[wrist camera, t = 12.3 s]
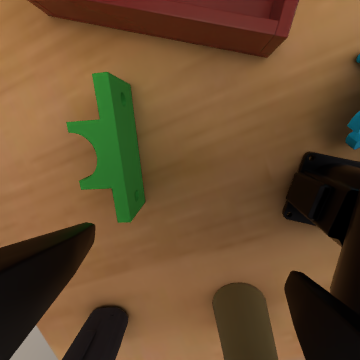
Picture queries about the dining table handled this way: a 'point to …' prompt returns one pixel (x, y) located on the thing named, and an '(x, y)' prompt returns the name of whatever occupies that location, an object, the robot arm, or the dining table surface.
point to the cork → (243, 323)
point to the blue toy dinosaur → (354, 127)
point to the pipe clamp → (114, 146)
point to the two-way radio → (99, 336)
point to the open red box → (188, 20)
